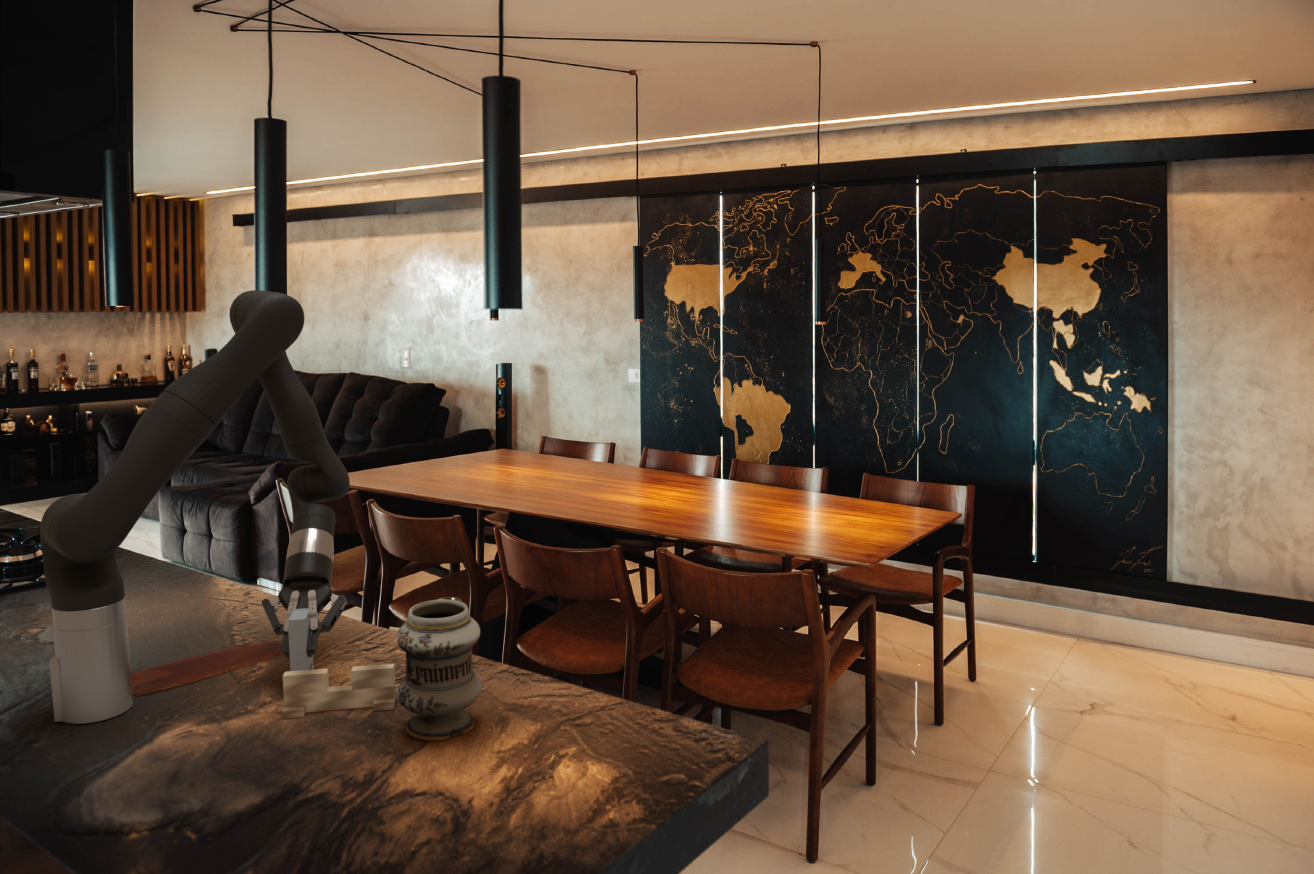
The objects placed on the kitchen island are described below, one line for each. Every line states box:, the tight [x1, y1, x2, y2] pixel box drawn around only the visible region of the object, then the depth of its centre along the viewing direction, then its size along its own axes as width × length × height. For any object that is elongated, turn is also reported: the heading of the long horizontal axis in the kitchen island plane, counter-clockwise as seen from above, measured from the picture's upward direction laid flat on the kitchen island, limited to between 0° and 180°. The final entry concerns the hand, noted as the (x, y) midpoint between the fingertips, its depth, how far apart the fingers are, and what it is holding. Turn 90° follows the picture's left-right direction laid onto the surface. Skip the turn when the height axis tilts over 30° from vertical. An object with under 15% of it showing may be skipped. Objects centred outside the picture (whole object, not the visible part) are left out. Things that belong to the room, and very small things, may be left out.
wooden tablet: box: [131, 640, 284, 697], centre depth 147 cm, size 27×10×2 cm, turn 139°
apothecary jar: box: [396, 599, 483, 742], centre depth 124 cm, size 12×12×18 cm
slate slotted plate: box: [288, 608, 315, 671], centre depth 138 cm, size 2×5×12 cm, turn 13°
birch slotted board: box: [281, 663, 397, 720], centre depth 131 cm, size 16×5×6 cm, turn 102°
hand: (299, 655), depth 136 cm, fingers closed on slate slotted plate, 2 cm apart
